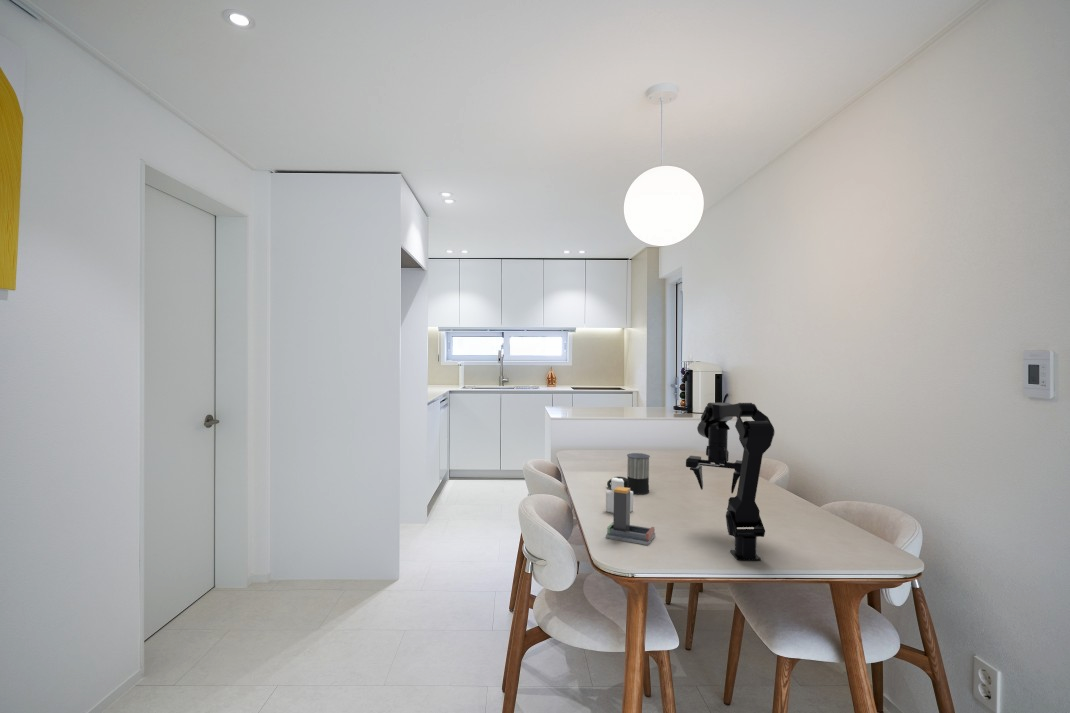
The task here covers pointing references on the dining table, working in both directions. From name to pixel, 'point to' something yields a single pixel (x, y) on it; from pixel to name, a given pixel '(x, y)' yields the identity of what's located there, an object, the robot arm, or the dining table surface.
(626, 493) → the block
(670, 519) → the dining table surface
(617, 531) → the grey rectangular tray
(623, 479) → the medicine bottle
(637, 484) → the milk frother
